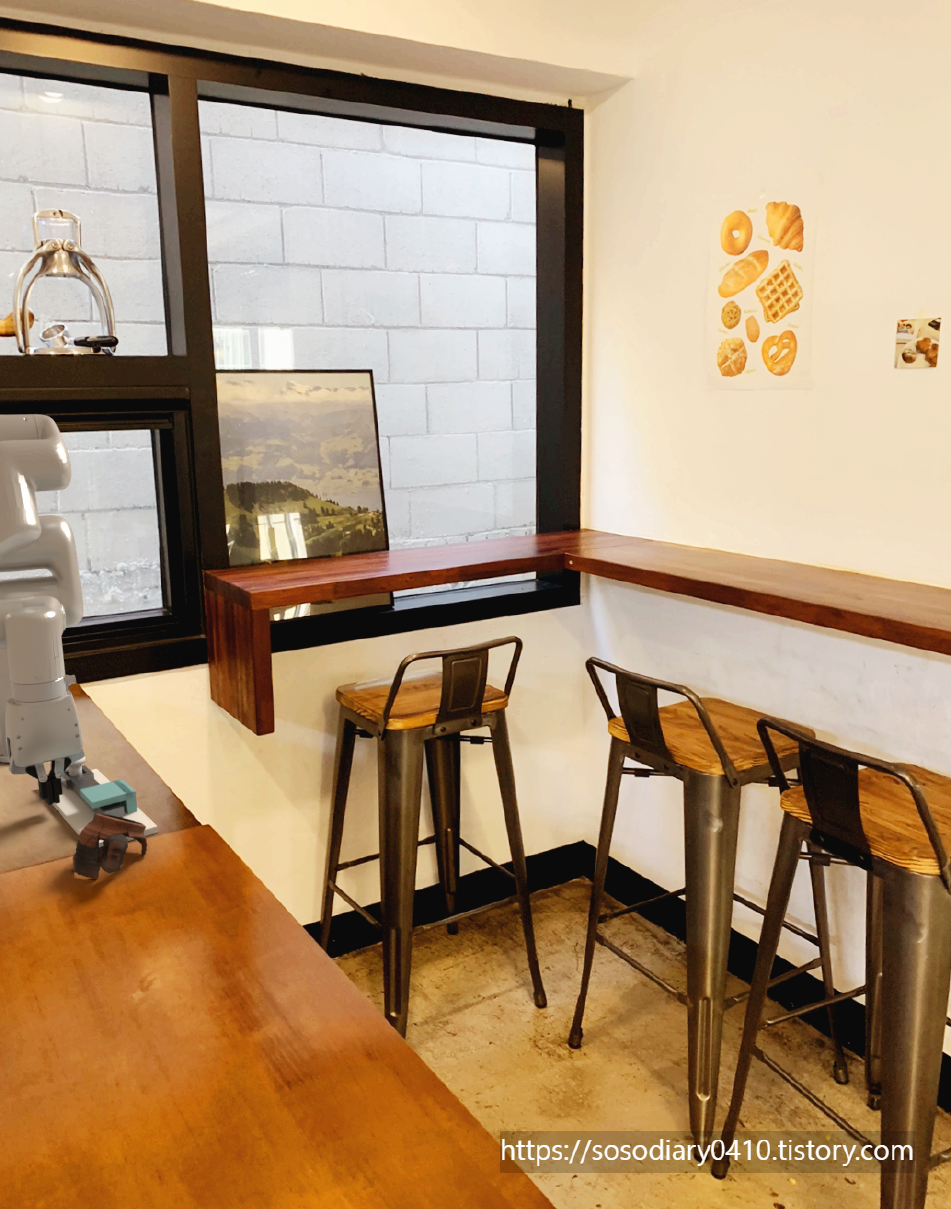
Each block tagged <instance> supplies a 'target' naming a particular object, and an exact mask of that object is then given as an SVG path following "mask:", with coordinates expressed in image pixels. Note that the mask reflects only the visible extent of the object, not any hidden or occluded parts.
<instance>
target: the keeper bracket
mask: <svg viewBox="0 0 951 1209" xmlns="http://www.w3.org/2000/svg"><path fill="white" fill-rule="evenodd" d="M80 796H81V797H82V798H83V799H84V800H85V801H86V802H87V803H88V804H89V805H90V806H91V807H92V809H94V808H98V807H102V806H105V805H109V804H113V803H117V802H120V803H121V804H122V805H123V806H124V811H125V812H126V813H127V814H129V813H132V812H136V811H137V807H138V803H137V791H136V790H135V789H134V788H133V787H132V786H131V785H129V783H127V782H126V781H125V780H124V779H123V778H120V779H117V780H113V781H110V782H108V783H104V784H100V785H96V786H92V787H88V788H84V789H80Z"/></svg>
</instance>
